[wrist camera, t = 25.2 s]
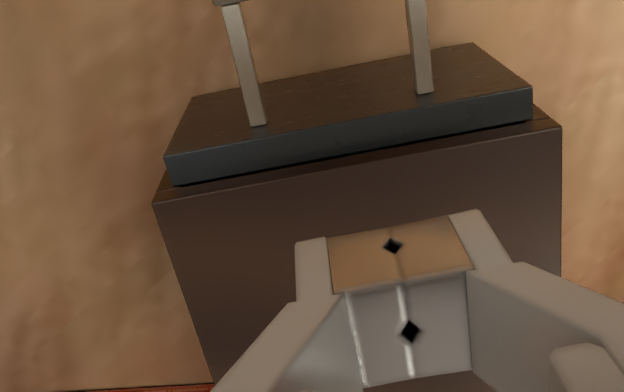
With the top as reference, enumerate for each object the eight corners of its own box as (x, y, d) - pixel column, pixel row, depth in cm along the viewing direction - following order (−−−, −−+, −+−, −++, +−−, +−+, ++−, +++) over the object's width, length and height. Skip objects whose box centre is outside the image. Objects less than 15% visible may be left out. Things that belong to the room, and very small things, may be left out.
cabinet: (188, 117, 27) (150, 203, 20) (481, 60, 27) (563, 125, 19) (259, 355, 34) (251, 491, 26) (495, 314, 33) (560, 441, 26)
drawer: (151, -42, 23) (103, -22, 17) (464, -106, 23) (530, -110, 17) (259, 332, 32) (253, 434, 26) (488, 292, 31) (537, 386, 25)
